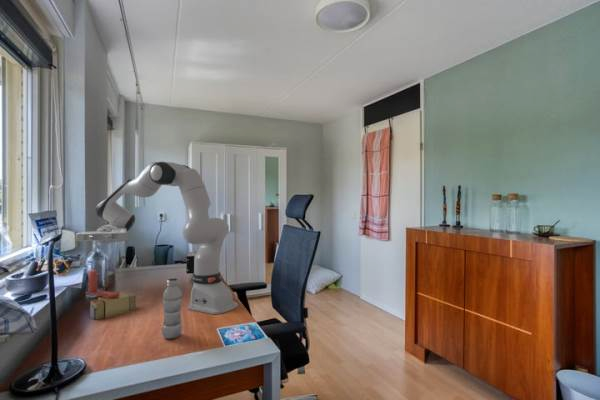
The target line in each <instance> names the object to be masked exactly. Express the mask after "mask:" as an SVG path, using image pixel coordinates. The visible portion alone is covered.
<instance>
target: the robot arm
mask: <svg viewBox="0 0 600 400" xmlns="http://www.w3.org/2000/svg"><path fill="white" fill-rule="evenodd" d="M162 186H170V187H178V188H179V190H180V194H181V197H182V200H183V203H184V206H185V209H186V223H185V224H184V226H183V230H182V236H183V239H184V240H185V241H186V243H188V244H191V245H200V246H199V247H198V251H196V252H197V253H196V255H195V257H194V273H193V282H194V283H192V284H193V285H192V288H191V290H190V291H191V292H190V301H189V305H188V307H187V309H188V310H192V311H197V312H201V313H206V314H210V315H211V314H212V315H219V314H220V315H221V314H224V313H227V312H230V311H232V310H234V309H236V308H238V306H239V303H238V302H236V301H234V300H233V293H232V291H231V290H230V288H228V287H227V286H226V284H225V283H224V282H223V279H224V275H222V274H221V271H220V260H221V259H220V256H221V251H222V247H223V244H224V241H225V238H226V237H227V235H228V233H229V231H230V230H229V229H230V227H229V224H228V222H227V221H226V220H225V219H221V218H218V217H211V218H210V216H209V208H210V206H211V200H210V197H209V196H210V195H209V194H208V191H207V188H206V186H205V182H204V181H203V179H202V177H201V175H200V173H199V171H198V170H196V169H195V168H191V167H190V166H187V165H185V164H181V163H177V162H171V161H170V162H168V161H167V162H165V161H153V162H152V161H151V162H150V163H149V164H147V165H146V167H144V168H143V170H142V171H141V172H140V173H139V174H138V176H137V177H136V178H134V179H131V178H130V179H129V178H128V179H127V180H126V181H123V182H122V183H121V184H120V185H119V186H118V187H116V188H115V190H113V191H112V192H111V193H110V194H109V195H108V196H107V197H105V199H104V200H102V201H100V202H99V203H98V204H97V205H96V207H95V213H96V216H97V217H99V218H101V219H102V220H105V221H106V222H107V223H108V222H109V223H108V224H106V225H103V226H100V227H99V228H98V229H96V231H82V232H76V233H75V241H77V242H98V243H99V244H103V245H108V244H112V243H117V242H118V243H119V242H125V241H127V240H128V232H129V231H130V230H131V228H132V227H133V226H134V224H135V222H136V216H135V214H134V213H132V211H129V210H128V209H126V208H124V207H123V206H122V205H120V204H118V202H117V201H118V200H119V199H120V198H121V197H122V196H123V195H125V194H126V195H127V194H128V195H131V196H132V195H133V196H135V197H138V198H150V197H153V196H154V195H155V194H156V193H157V192H158V191H159V190H160V188H161V187H162Z"/></svg>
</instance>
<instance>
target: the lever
mask: <svg viewBox="0 0 600 400" xmlns="http://www.w3.org/2000/svg"><path fill="white" fill-rule="evenodd" d="M120 293H121V292H120V291H105V290H104V291H103V290H98V269H92V270H89V271H88V293H87V294H88V295H89V296H100V297H103V296H108V297H117V296H119V295H120Z"/></svg>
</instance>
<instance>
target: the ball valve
mask: <svg viewBox="0 0 600 400" xmlns="http://www.w3.org/2000/svg"><path fill="white" fill-rule="evenodd" d="M197 252H198V251H196V250H193V251H189V252H188V253H187V256H186V270H185V271H186V274H187V275H189V274H190V276H189V282H190V283H191V284H194V282H193V273H194V257H195V255H196V253H197Z"/></svg>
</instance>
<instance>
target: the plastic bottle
mask: <svg viewBox="0 0 600 400" xmlns="http://www.w3.org/2000/svg"><path fill="white" fill-rule="evenodd" d="M182 300H183V292H182V290H181V288H180V287H179V279H178V278H175V277H173V278H169V279H167V280H166V288H165V289H164V292H163V294H162V302H163V313H164V314H163V323H162V327H161V328H162V329H161V333H162V334H161V335H162V337H163V338H164V339H168V340H171V339H176V338H178V337H180V335H181V334H182V332H183V325H182V318H181V309H182Z"/></svg>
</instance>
